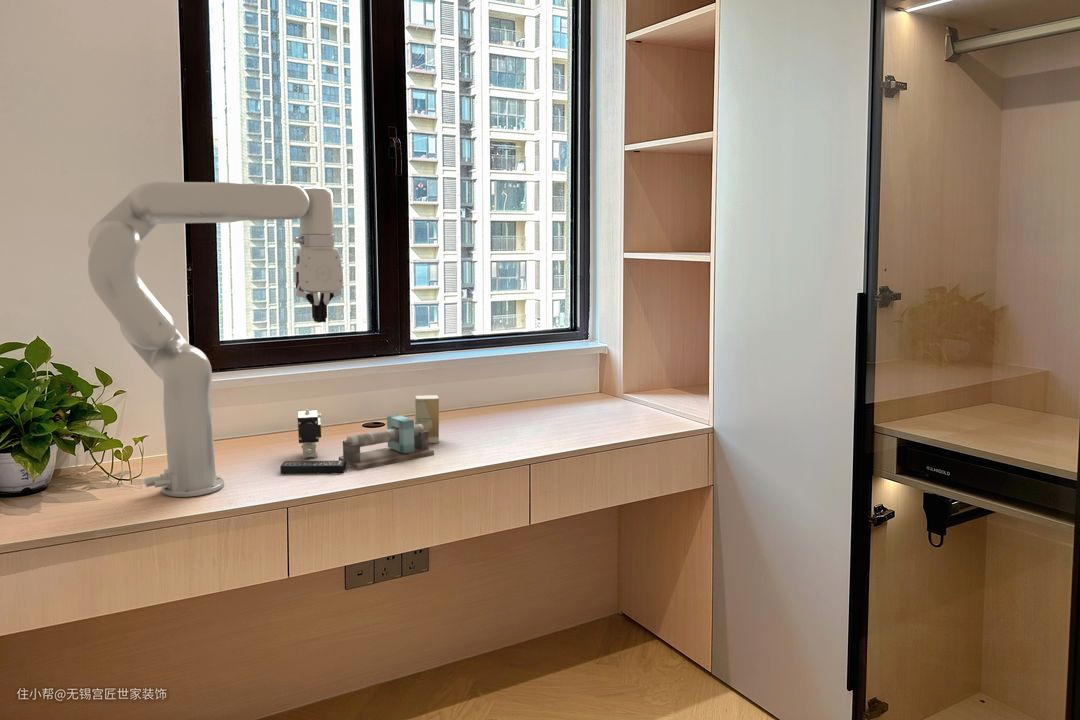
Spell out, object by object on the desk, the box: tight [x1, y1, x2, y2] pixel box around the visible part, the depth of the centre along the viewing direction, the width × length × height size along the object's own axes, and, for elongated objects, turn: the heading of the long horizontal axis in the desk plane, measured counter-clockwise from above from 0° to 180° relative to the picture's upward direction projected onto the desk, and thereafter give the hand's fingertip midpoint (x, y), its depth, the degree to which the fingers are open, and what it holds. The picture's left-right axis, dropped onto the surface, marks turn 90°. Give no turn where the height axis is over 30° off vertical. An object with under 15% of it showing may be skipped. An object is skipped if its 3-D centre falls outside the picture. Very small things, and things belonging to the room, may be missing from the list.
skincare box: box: [414, 394, 440, 444], centre depth 222 cm, size 6×4×12 cm
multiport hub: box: [279, 460, 347, 475], centre depth 197 cm, size 4×14×2 cm, turn 93°
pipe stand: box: [338, 424, 435, 471], centre depth 207 cm, size 21×10×7 cm, turn 129°
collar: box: [386, 413, 415, 453], centre depth 210 cm, size 3×8×8 cm, turn 39°
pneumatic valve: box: [297, 408, 322, 460], centre depth 208 cm, size 6×12×12 cm, turn 15°
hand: (319, 321), depth 195 cm, fingers closed
